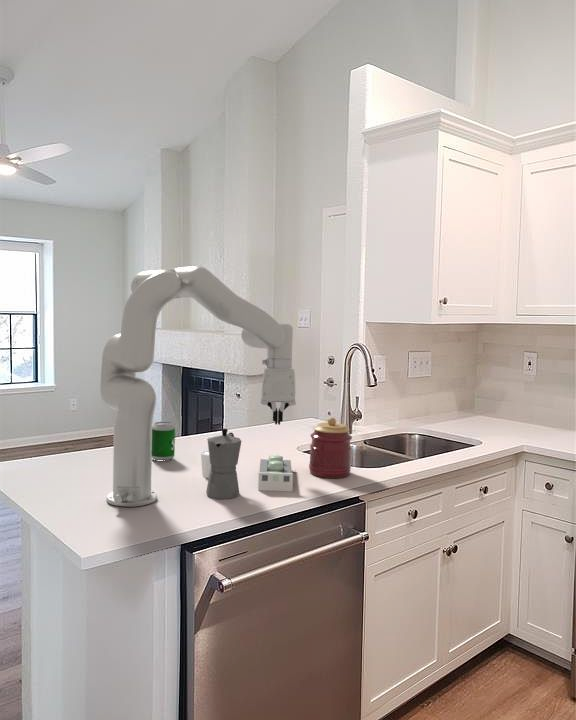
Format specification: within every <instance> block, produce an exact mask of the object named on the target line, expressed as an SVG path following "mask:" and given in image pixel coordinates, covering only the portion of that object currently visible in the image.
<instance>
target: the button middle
mask: <svg viewBox="0 0 576 720" xmlns="http://www.w3.org/2000/svg"><path fill="white" fill-rule="evenodd" d="M268 471H280V472H283V462H281V461H269V462H268Z"/></svg>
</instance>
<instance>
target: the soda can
mask: <svg viewBox="0 0 576 720" xmlns="http://www.w3.org/2000/svg"><path fill="white" fill-rule="evenodd" d="M153 423H154V424H152V460H154V459H155V460H163V461H164V460H170V459H172V460H173V458H174V457H175V452H176V451H175V449H176V447H175V446H176V445H175V444H176V442H175V441H176V426H175V425H174V423H173V422H170V421H156V422H153ZM155 460H154V461H155ZM170 461H171V460H170Z"/></svg>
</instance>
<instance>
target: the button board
mask: <svg viewBox="0 0 576 720" xmlns="http://www.w3.org/2000/svg"><path fill="white" fill-rule="evenodd" d="M268 462H269V459H266V458H265V459H264V458H263V459H262V458H261V459H260V463H259V472H258V484H257V485H258V488H257V491H259V492H261V491H262V492H264V491H265V492H266V491H267V492H293V483H294V481H293V480H294V473H293V469H292V460H290V459H283V472H282V473H269V472H280V471H268Z"/></svg>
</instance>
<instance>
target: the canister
mask: <svg viewBox="0 0 576 720" xmlns="http://www.w3.org/2000/svg"><path fill="white" fill-rule="evenodd" d="M313 430H314V431H313V432H312V433H310V438H311V444H310V445H309V447H310V448H309V449H310V450H309V451H310V453H309V464H308V466H309V468H308V469H309V473H310V474H311V475H312V476H315V477H319V478H326V479H341V478H346V477H349V476H350V473H351V471H352V470H351V469H352V468H351V467H352V466H351V462H352V461H351V458H352V446H351V441H352V439H353V437H352V435H351V434H350V433H349V432H350V428H349V427H347V426H346V424H343V423H340V422H339V423H338V422H337V419H336V418H335V417H329V418H328V419H327V422H320V423H318V424H316V425H315V426H313Z"/></svg>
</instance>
